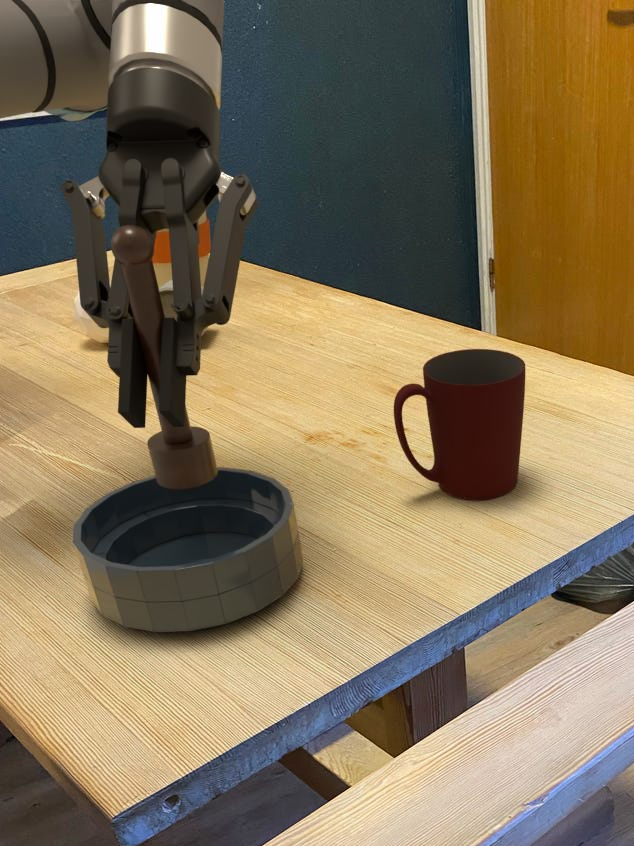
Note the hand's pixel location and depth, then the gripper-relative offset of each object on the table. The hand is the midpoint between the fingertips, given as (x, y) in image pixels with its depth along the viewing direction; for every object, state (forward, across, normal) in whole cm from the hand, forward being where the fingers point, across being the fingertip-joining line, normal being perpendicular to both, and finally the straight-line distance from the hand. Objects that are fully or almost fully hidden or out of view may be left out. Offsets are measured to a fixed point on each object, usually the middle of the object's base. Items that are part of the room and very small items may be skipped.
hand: (151, 419), depth 62 cm
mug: (-3, -20, -25) cm, 32 cm away
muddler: (+2, 0, -7) cm, 7 cm away
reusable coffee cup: (-51, +26, -73) cm, 93 cm away
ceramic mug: (-34, +19, -56) cm, 68 cm away
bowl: (+8, +1, -14) cm, 16 cm away
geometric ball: (-34, +27, -56) cm, 71 cm away
